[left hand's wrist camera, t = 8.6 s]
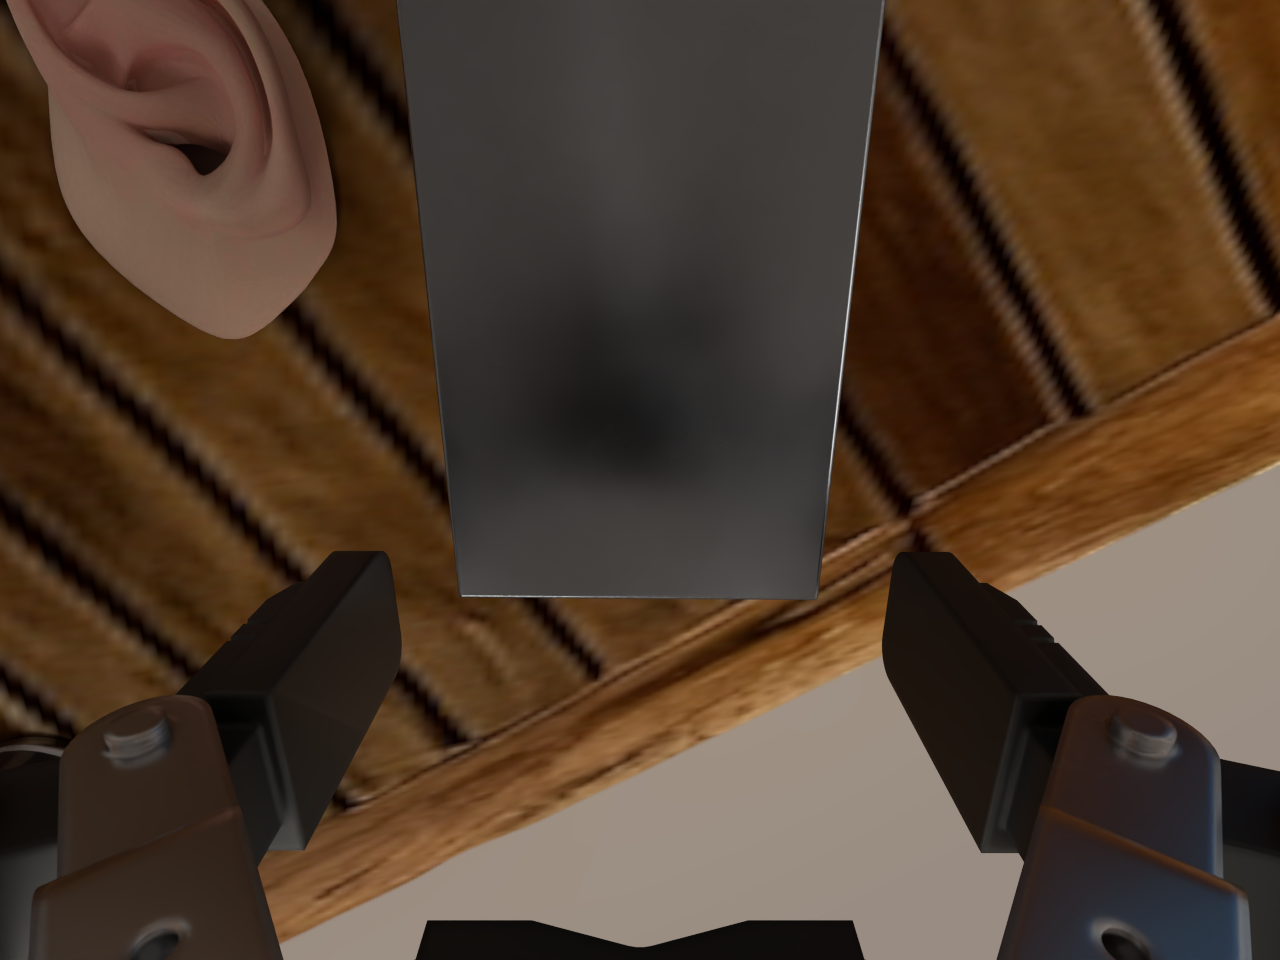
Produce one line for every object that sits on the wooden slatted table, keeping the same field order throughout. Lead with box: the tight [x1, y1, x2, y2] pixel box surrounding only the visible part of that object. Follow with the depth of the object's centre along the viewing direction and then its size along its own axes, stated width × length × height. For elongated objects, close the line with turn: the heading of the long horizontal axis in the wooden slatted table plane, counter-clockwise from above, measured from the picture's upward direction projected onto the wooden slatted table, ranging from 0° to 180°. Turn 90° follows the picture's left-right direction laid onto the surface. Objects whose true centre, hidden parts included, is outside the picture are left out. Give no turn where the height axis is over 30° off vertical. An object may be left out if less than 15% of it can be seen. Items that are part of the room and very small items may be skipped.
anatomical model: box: [6, 0, 337, 339], centre depth 25 cm, size 13×4×12 cm
